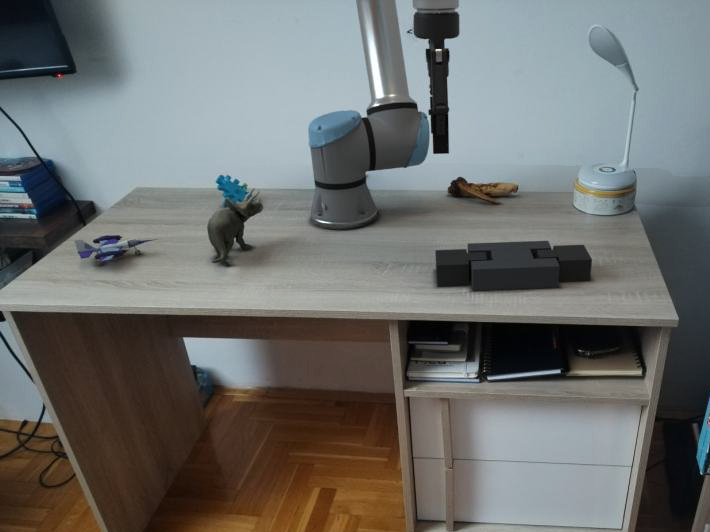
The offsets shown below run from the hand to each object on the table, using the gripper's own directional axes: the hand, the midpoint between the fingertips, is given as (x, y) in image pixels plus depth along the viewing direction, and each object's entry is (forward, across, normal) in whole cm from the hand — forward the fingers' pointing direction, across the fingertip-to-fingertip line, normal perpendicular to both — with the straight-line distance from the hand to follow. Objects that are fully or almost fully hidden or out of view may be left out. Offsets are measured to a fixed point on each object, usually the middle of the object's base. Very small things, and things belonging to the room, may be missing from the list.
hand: (439, 142), depth 117 cm
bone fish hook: (+25, +38, -12) cm, 47 cm away
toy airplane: (+24, +9, +67) cm, 72 cm away
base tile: (+24, -6, -13) cm, 28 cm away
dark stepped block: (+24, -6, -23) cm, 34 cm away
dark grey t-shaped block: (+24, -6, -3) cm, 25 cm away
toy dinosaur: (+24, +8, +44) cm, 51 cm away
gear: (+25, +39, +49) cm, 67 cm away
